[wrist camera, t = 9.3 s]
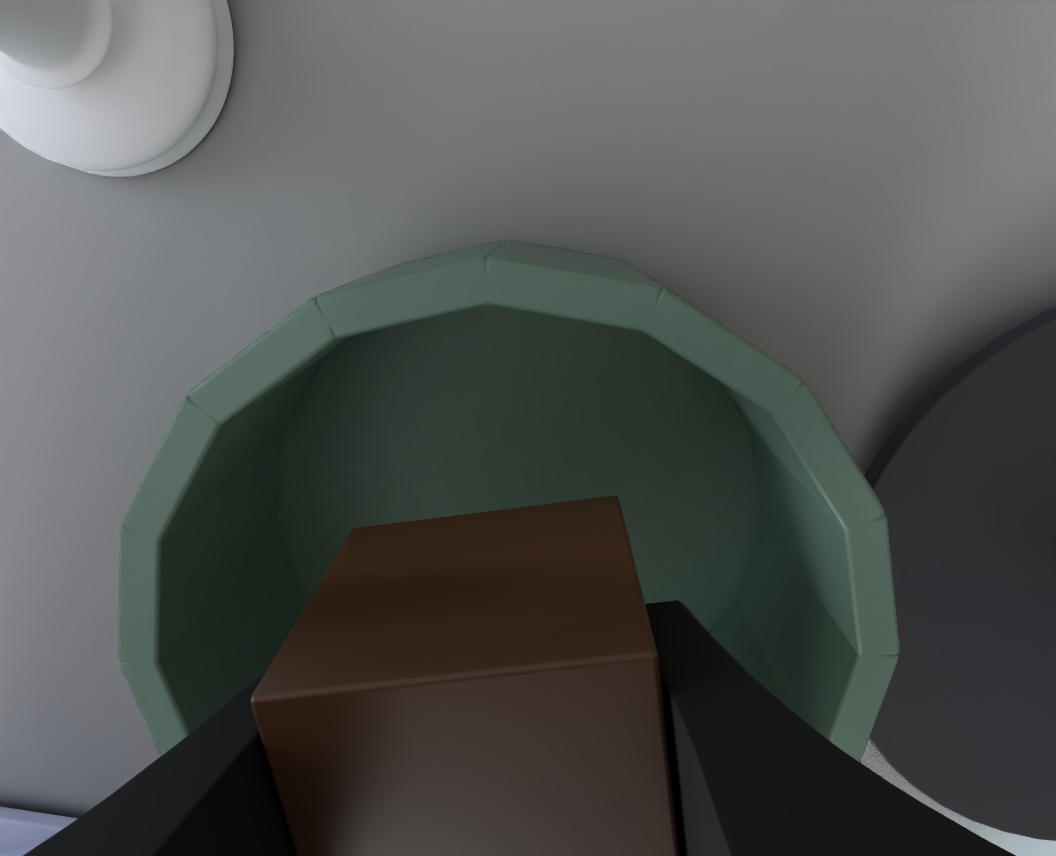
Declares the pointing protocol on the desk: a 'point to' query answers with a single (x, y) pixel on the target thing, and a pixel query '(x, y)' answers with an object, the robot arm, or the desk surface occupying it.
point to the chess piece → (113, 79)
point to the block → (474, 693)
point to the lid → (977, 586)
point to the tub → (507, 474)
